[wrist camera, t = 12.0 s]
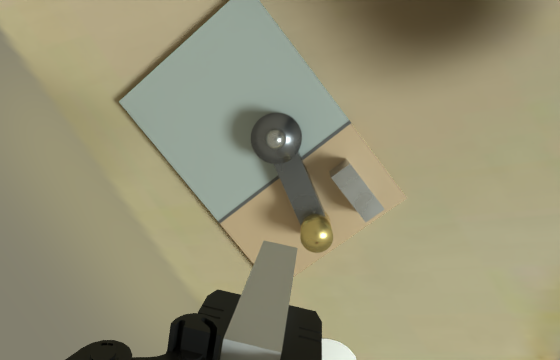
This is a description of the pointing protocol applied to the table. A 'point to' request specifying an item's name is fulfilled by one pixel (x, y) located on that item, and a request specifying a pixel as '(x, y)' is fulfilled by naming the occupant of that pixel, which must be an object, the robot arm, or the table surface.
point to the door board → (238, 126)
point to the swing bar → (293, 176)
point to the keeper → (356, 190)
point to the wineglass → (335, 351)
